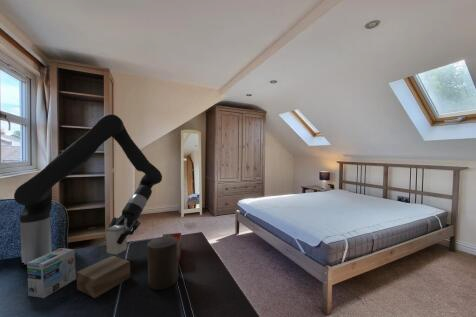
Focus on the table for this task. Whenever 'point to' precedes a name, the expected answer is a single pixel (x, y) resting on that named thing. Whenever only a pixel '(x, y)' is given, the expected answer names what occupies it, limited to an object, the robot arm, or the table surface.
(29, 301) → the table surface
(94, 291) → the walnut block
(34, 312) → the table surface
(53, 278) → the light bulb box
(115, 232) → the pale grey tall block
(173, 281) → the pillar candle
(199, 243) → the table surface
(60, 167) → the robot arm
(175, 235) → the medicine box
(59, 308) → the table surface
